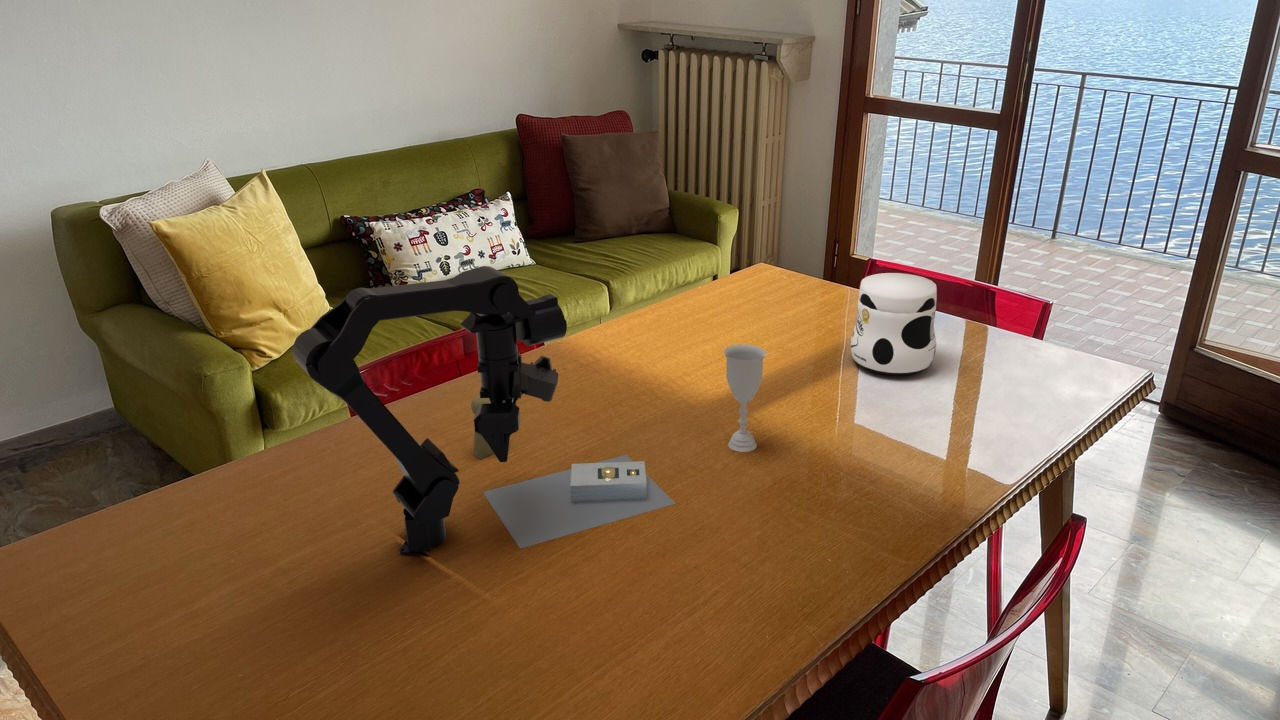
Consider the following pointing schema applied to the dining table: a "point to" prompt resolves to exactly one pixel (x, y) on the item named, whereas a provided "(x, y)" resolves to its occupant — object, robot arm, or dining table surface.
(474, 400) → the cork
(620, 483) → the silver rectangular block
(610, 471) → the pair of brass cylinders
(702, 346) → the dining table surface
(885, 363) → the milk container
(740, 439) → the chalice
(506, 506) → the mount board
